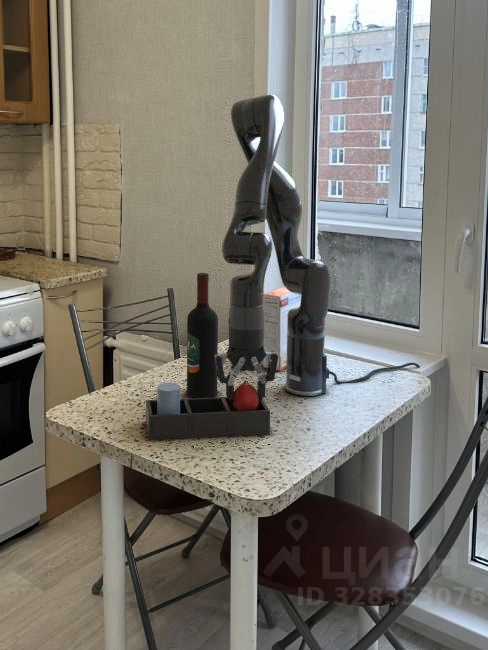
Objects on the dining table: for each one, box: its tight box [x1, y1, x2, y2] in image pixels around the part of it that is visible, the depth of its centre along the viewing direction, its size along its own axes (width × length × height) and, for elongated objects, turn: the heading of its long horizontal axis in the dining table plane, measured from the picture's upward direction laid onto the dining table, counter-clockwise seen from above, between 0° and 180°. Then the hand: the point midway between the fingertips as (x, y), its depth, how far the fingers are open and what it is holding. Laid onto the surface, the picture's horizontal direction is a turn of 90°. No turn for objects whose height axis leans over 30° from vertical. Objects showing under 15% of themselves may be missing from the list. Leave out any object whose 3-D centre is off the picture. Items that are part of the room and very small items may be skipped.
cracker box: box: [262, 285, 301, 372], centre depth 188 cm, size 14×6×21 cm, turn 144°
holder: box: [145, 396, 271, 441], centre depth 145 cm, size 26×9×5 cm, turn 97°
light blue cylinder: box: [156, 382, 181, 415], centre depth 144 cm, size 5×5×9 cm
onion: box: [233, 380, 259, 411], centre depth 146 cm, size 6×6×8 cm
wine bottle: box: [186, 272, 219, 398], centre depth 164 cm, size 8×8×30 cm
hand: (245, 399), depth 146 cm, fingers closed on onion, 5 cm apart
